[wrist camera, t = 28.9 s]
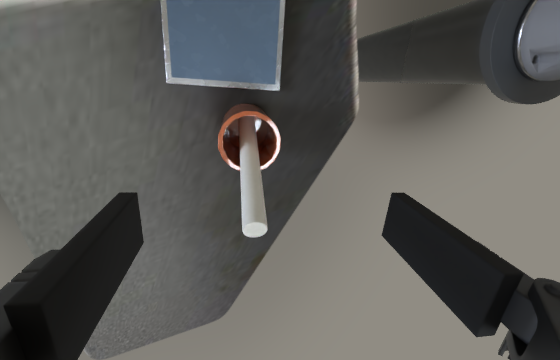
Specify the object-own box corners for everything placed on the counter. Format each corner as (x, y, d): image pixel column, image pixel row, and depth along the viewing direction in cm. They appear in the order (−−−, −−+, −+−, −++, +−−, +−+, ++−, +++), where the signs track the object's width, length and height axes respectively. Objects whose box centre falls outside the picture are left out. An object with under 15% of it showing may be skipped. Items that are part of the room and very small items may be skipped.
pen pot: (271, 104, 38) (282, 113, 29) (268, 151, 41) (278, 172, 31) (221, 102, 37) (217, 109, 28) (222, 150, 39) (218, 172, 30)
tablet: (290, -89, 31) (291, -95, 30) (278, 90, 38) (279, 91, 37) (153, -115, 28) (150, -122, 27) (168, 83, 35) (166, 83, 34)
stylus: (254, 107, 37) (268, 222, 22) (253, 121, 39) (266, 237, 24) (238, 107, 37) (242, 222, 22) (238, 120, 38) (242, 238, 24)
